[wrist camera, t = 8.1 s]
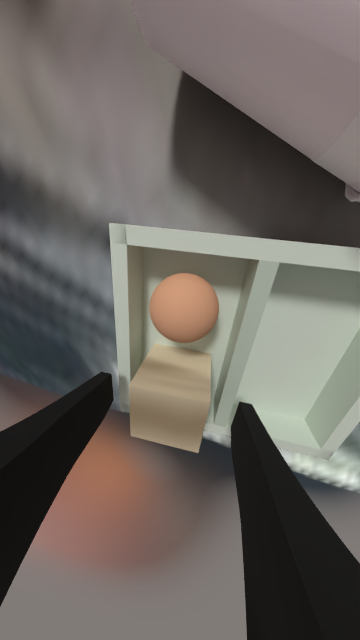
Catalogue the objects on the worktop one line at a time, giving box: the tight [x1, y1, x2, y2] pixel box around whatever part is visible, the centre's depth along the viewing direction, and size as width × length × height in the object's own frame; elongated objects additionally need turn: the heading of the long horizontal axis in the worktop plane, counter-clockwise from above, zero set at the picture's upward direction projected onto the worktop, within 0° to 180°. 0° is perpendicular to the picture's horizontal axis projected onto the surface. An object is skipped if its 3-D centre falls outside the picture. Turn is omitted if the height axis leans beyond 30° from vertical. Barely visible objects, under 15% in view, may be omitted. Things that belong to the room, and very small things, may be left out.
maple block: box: [129, 343, 211, 453], centre depth 11 cm, size 4×4×4 cm
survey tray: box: [109, 223, 360, 460], centre depth 10 cm, size 14×12×3 cm
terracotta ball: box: [149, 273, 219, 343], centre depth 9 cm, size 4×4×4 cm
